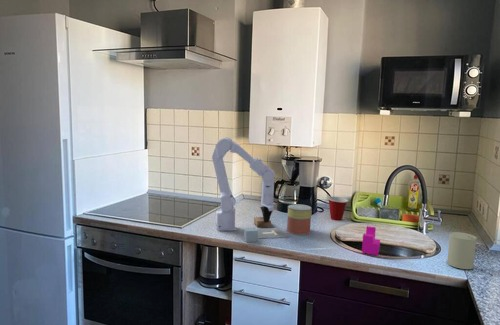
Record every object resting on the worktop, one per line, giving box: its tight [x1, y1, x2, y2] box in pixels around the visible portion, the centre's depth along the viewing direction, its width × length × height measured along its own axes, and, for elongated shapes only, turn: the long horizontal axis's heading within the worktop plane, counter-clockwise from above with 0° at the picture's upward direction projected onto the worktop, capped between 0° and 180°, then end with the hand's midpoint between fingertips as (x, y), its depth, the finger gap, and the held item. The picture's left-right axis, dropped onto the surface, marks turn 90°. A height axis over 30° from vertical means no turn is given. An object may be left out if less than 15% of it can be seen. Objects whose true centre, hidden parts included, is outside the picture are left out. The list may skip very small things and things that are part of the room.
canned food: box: [286, 203, 312, 236], centre depth 181 cm, size 11×11×12 cm
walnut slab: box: [253, 216, 272, 229], centre depth 190 cm, size 7×7×4 cm
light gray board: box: [256, 227, 289, 240], centre depth 178 cm, size 14×14×1 cm
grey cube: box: [243, 226, 258, 243], centre depth 167 cm, size 5×5×5 cm
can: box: [446, 231, 478, 270], centre depth 145 cm, size 9×9×12 cm
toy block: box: [361, 225, 381, 256], centre depth 161 cm, size 15×6×8 cm, turn 157°
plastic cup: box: [327, 196, 349, 222], centre depth 203 cm, size 11×11×12 cm
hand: (266, 221), depth 182 cm, fingers closed
